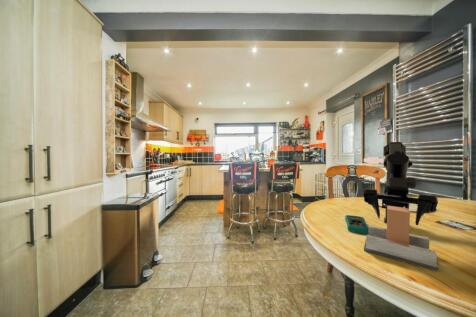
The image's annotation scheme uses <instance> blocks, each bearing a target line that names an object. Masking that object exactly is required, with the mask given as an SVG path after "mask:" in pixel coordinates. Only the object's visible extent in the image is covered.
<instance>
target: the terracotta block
mask: <svg viewBox="0 0 476 317" xmlns="http://www.w3.org/2000/svg"><path fill="white" fill-rule="evenodd" d="M410 219H411V211H410V208H409V209H408V208H405V207H404V208H402V207H395V206H388V205H387V223H386V229H387V240H391V241H395V242H400V243H404V244H408V245H409V234H410V225H411V224H410V223H411V220H410Z"/></svg>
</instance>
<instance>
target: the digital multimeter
mask: <svg viewBox="0 0 476 317" xmlns="http://www.w3.org/2000/svg"><path fill="white" fill-rule="evenodd" d="M344 220H345V222H346V226H347V232H352V233H355V234H364V235H367V234H368V229H369V225H368V224H367V222H366V220H365V218H364V217H363V216H358V215H351V214H346V215H345V216H344Z"/></svg>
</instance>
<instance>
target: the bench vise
mask: <svg viewBox="0 0 476 317" xmlns="http://www.w3.org/2000/svg"><path fill="white" fill-rule="evenodd" d="M368 227H369V229H368V234H366V236H365V242H364V246H363V251H365V252H368V253H371V254H375V255H378V256H381V257H386V258H389V259H392V260H397V261H399V260H400V261H399V262H403V261H404V263H406V264H409V265H410V264H411V265H413V266H416V267H421V268H425V269H428V270H431V271H434V272H440V267H439V264H438V263H437V262H438V261H437V258H438V254H437V251H436V250H434V249H430V238H429V237H427V236H423V235H418V234H413V233H409V245H408V244H404V243H400V242H395V241H391V240H387V228H383V227H379V226H375V225H368Z"/></svg>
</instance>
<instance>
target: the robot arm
mask: <svg viewBox="0 0 476 317" xmlns="http://www.w3.org/2000/svg"><path fill="white" fill-rule="evenodd" d="M382 152H383V157H384V159H383V168H385V170H386V175H385V176H386V177H385V180H386V184H385V188H384V191H383V192H384V193H378V189H374V188H365V189H364V190H363V201H364V202H365V203H367V204H368V205H370V206H372V208H373V209H374V212H375V214H376V216H377V218H378V219H381V214H380V213H381V212H380V206H379V204H380V203H379V200H381V208H382V209H385V212H384V213H385V217H383V222H384V223H386V224H387V205H388V206H395V207H402V208H408V209H409V210H410V205H411V204H413V205H416V206H417V207H416V211H415V212H416V214H415V221H414V222H415V223H414V224H415V225H416V226H419V223H420V221H421V219H422V217H423V216H424V214H429V213H430V212H432V213H433V212H436V209H437V207H438V204H439V200H438V197H437V196H435V195H432V194H425V193H424V194H423V193H419V194H418V197H410V196H408V195H409V192H410V191H409V189H415V188H416V187H417V185H416V177H407V173H408V171H409V170H408V169H410V168H411V166H413V162H412V161H411V160H410V157H409V156H408V155H407V146H406V145H404V144H403V142H402V141H390V142H388V143H387V144H386V145H384V146H383V151H382Z"/></svg>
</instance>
